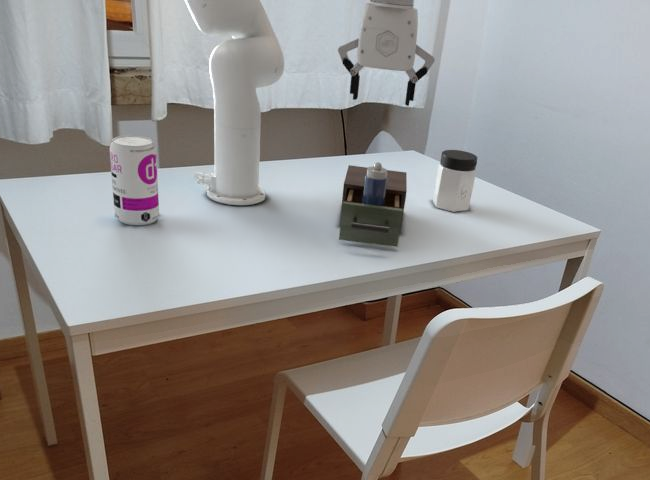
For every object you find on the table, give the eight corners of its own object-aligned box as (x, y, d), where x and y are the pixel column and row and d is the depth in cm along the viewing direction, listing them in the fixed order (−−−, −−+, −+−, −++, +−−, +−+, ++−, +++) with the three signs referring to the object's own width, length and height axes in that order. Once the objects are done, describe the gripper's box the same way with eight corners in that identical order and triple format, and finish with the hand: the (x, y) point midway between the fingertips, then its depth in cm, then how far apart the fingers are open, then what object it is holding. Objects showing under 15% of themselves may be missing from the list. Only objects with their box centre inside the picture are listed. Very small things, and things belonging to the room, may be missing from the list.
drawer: (397, 255, 126) (402, 218, 122) (336, 248, 126) (340, 210, 122) (398, 224, 140) (403, 190, 137) (343, 217, 140) (347, 183, 137)
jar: (447, 213, 152) (456, 161, 146) (424, 201, 158) (433, 150, 152) (476, 209, 157) (486, 158, 151) (453, 198, 163) (462, 148, 156)
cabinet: (400, 234, 138) (406, 191, 133) (339, 227, 138) (343, 183, 133) (400, 212, 150) (406, 172, 145) (344, 205, 150) (348, 165, 145)
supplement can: (168, 218, 132) (165, 141, 124) (139, 230, 126) (135, 149, 118) (135, 208, 135) (130, 132, 127) (105, 219, 128) (98, 140, 120)
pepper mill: (358, 231, 132) (366, 164, 125) (359, 223, 135) (367, 158, 129) (380, 233, 132) (389, 167, 125) (381, 226, 135) (390, 160, 129)
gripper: (340, -8, 112) (332, 99, 121) (443, 4, 112) (428, 110, 120) (344, -10, 118) (336, 92, 127) (442, 1, 118) (427, 103, 127)
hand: (381, 101), depth 124 cm, fingers open, 9 cm apart
